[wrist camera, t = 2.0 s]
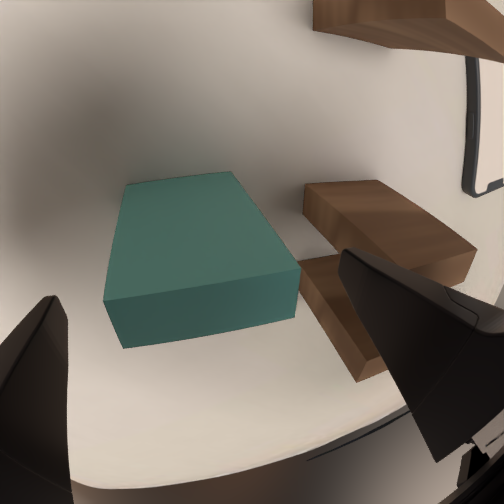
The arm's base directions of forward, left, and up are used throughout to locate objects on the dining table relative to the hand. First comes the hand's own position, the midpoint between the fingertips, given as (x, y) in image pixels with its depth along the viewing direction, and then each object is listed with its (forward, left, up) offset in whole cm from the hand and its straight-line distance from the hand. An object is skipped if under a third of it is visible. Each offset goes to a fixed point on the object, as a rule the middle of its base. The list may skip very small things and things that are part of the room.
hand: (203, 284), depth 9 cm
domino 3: (-1, -9, -7) cm, 11 cm away
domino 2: (+9, -9, -7) cm, 14 cm away
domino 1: (0, 0, -7) cm, 7 cm away
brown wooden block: (-6, -9, -7) cm, 13 cm away
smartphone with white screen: (+7, -24, -7) cm, 26 cm away
